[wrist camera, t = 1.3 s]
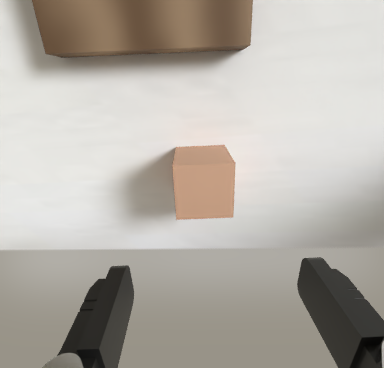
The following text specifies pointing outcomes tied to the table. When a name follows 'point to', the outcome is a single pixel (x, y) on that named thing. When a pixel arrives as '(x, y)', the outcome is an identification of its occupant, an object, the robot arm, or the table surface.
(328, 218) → the table surface
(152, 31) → the walnut base
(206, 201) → the stacking block
